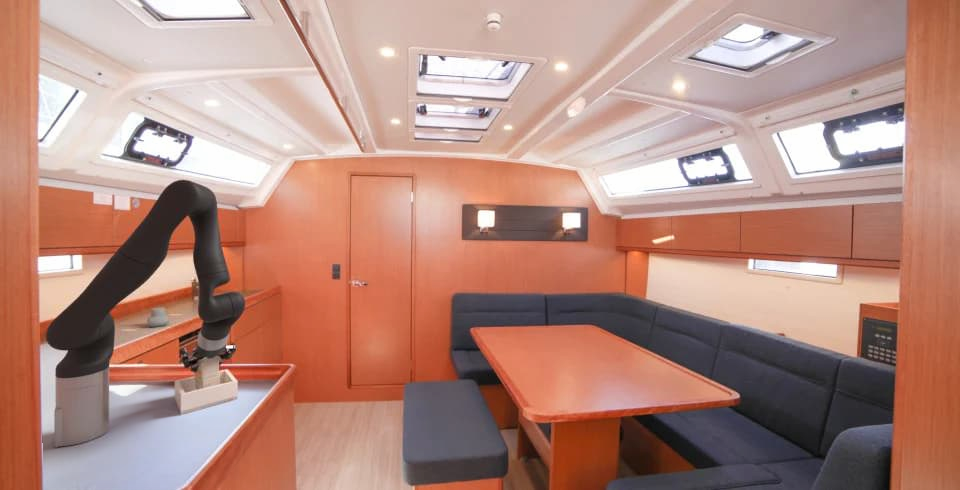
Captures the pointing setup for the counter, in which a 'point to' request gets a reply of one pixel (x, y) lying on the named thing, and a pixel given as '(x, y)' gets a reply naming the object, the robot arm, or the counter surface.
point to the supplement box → (207, 374)
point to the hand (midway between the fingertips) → (205, 367)
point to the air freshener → (158, 317)
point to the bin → (205, 393)
